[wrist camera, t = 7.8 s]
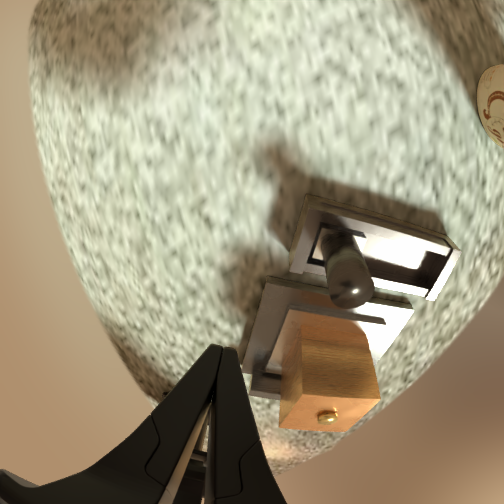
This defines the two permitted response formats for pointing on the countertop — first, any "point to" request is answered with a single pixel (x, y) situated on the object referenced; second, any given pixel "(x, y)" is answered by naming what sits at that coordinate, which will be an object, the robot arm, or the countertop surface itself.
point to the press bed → (316, 315)
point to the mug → (492, 103)
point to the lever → (344, 265)
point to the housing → (327, 380)
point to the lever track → (378, 247)
